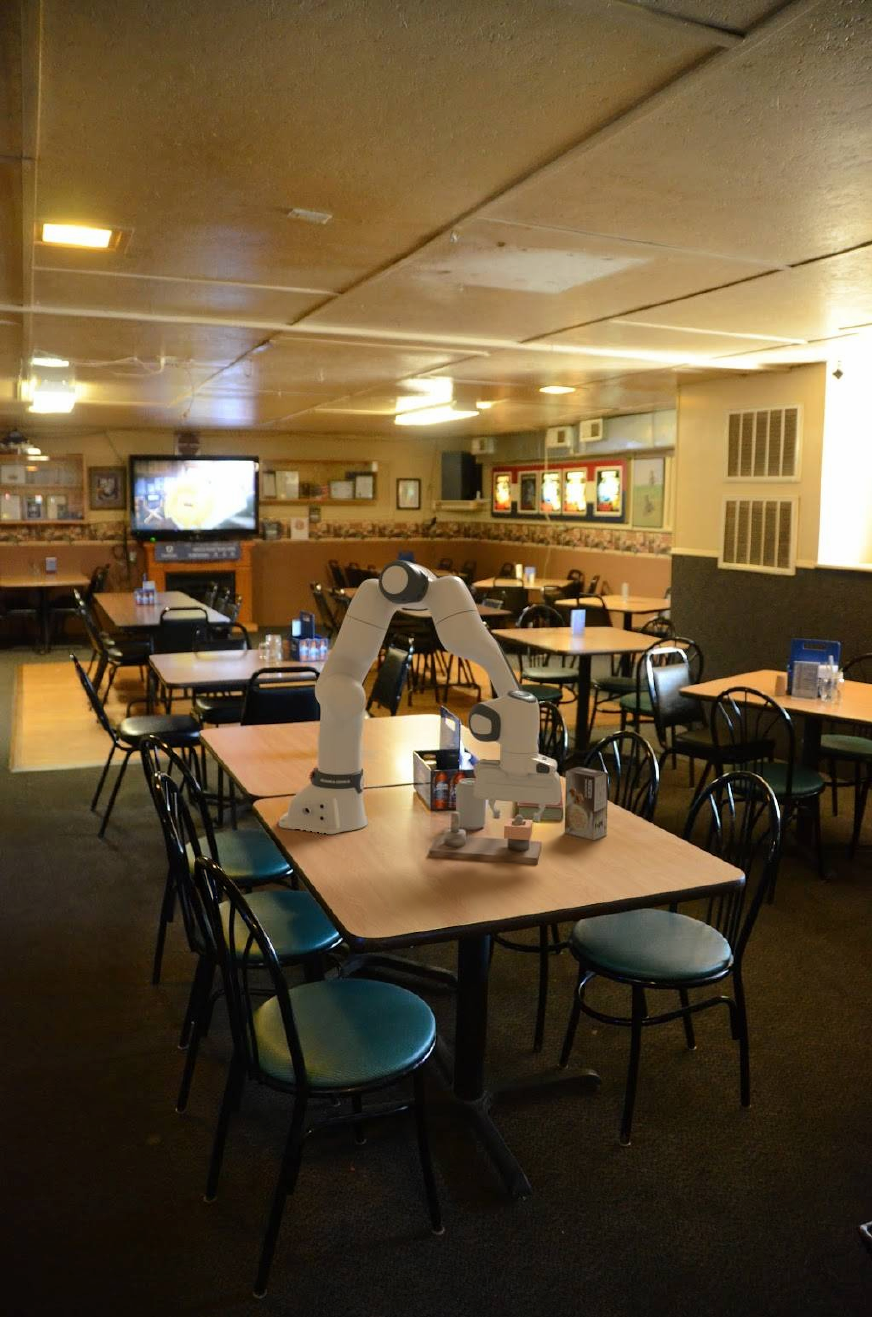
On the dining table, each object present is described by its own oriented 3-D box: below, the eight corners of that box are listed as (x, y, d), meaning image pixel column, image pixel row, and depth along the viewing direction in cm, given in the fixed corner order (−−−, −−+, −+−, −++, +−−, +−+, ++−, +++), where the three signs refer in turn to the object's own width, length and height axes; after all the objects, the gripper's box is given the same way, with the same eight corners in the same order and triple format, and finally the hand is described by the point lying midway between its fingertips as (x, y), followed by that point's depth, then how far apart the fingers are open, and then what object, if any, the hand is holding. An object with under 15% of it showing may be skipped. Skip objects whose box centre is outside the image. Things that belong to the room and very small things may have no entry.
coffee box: (608, 835, 250) (610, 772, 248) (593, 841, 246) (595, 777, 244) (577, 827, 257) (579, 765, 254) (562, 832, 252) (564, 770, 250)
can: (482, 832, 252) (483, 785, 250) (453, 829, 253) (454, 783, 252) (487, 823, 259) (488, 777, 257) (458, 821, 261) (459, 776, 259)
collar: (503, 838, 232) (504, 826, 232) (506, 830, 238) (507, 818, 238) (529, 840, 231) (530, 827, 231) (532, 832, 237) (532, 820, 237)
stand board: (429, 856, 233) (429, 817, 232) (438, 840, 245) (438, 802, 243) (537, 864, 229) (538, 824, 227) (541, 847, 240) (542, 809, 239)
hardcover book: (561, 799, 283) (561, 785, 283) (563, 822, 262) (563, 806, 262) (518, 798, 284) (519, 783, 284) (517, 820, 264) (517, 804, 263)
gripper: (472, 761, 231) (470, 819, 232) (561, 768, 227) (558, 827, 229) (476, 755, 237) (474, 812, 239) (563, 761, 233) (560, 819, 235)
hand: (516, 819), depth 234 cm, fingers open, 8 cm apart
